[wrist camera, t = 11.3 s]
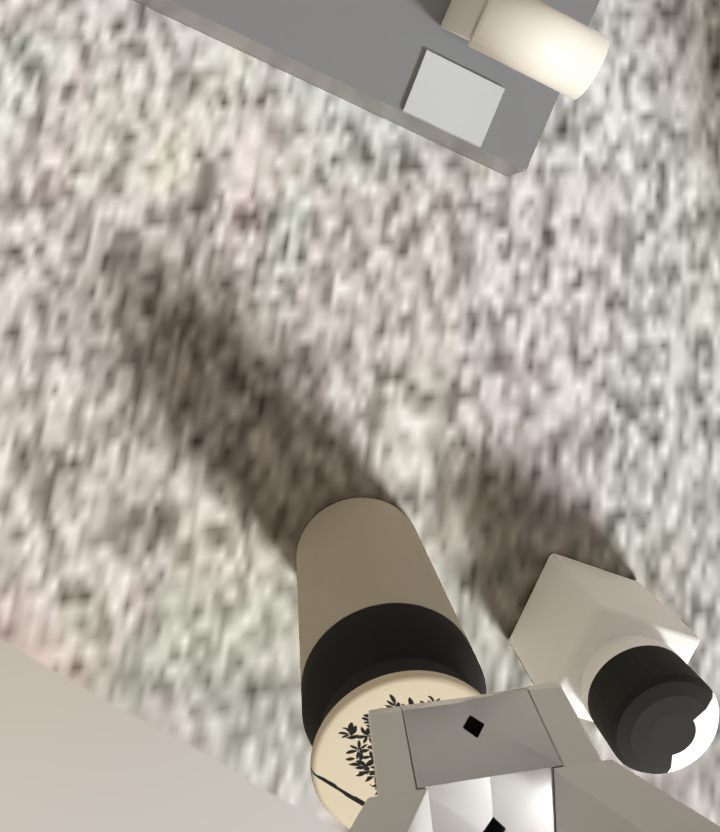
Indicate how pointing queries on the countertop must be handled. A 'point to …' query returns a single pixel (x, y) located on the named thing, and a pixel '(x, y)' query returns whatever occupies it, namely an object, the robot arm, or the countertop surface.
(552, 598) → the medicine bottle
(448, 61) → the switch unit
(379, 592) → the travel mug
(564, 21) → the inner lever
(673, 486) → the countertop surface
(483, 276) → the countertop surface
